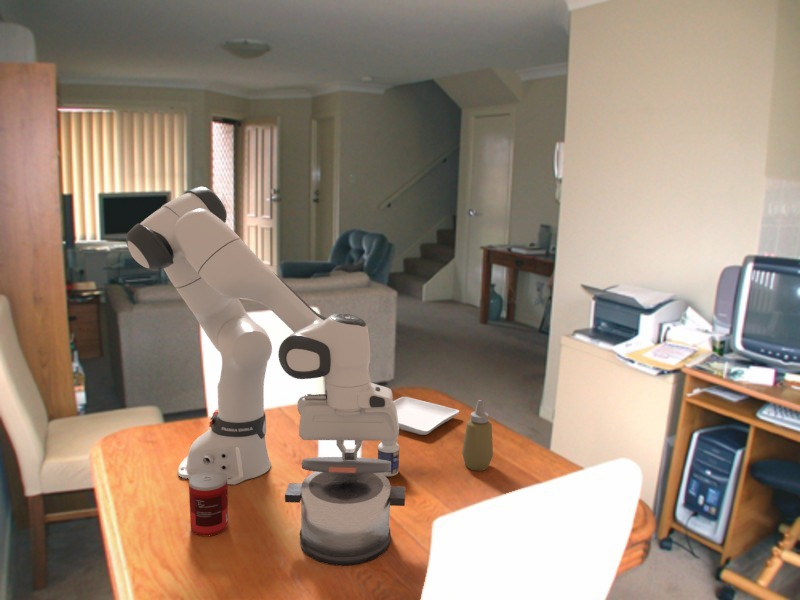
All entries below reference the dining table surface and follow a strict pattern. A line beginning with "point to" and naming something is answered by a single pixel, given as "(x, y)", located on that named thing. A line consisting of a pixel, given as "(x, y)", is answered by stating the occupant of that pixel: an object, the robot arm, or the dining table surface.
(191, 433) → the dining table surface
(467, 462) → the squeeze bottle
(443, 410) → the salad plate
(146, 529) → the dining table surface
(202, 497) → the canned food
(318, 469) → the cooker lid
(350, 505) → the cooker pot
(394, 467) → the pill bottle
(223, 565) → the dining table surface
